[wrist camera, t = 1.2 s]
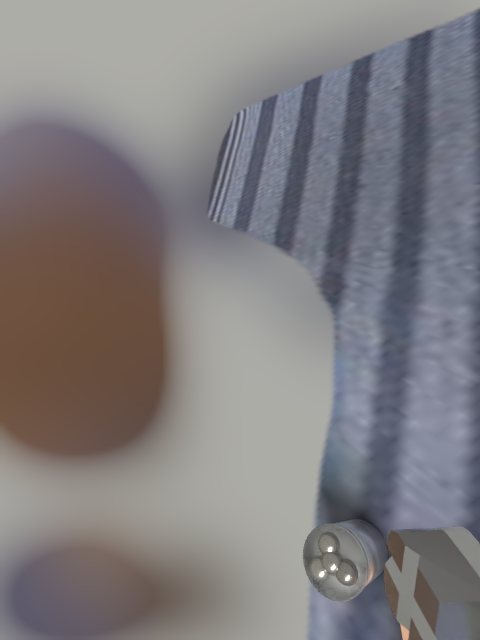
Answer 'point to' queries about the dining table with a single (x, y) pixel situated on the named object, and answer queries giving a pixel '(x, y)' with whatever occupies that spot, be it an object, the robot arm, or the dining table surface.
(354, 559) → the silver metal cylinder
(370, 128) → the dining table surface
